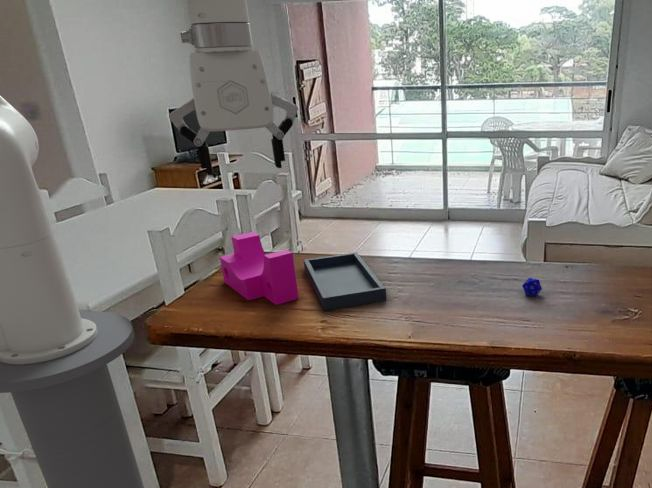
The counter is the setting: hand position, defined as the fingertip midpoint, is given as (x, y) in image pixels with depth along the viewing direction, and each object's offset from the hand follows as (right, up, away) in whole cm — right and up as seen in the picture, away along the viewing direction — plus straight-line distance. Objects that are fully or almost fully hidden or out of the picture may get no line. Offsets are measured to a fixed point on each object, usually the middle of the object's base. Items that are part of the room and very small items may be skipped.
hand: (245, 170), depth 83 cm
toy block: (0, -17, +9) cm, 20 cm away
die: (+43, -18, +4) cm, 47 cm away
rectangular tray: (+13, -16, +11) cm, 23 cm away
